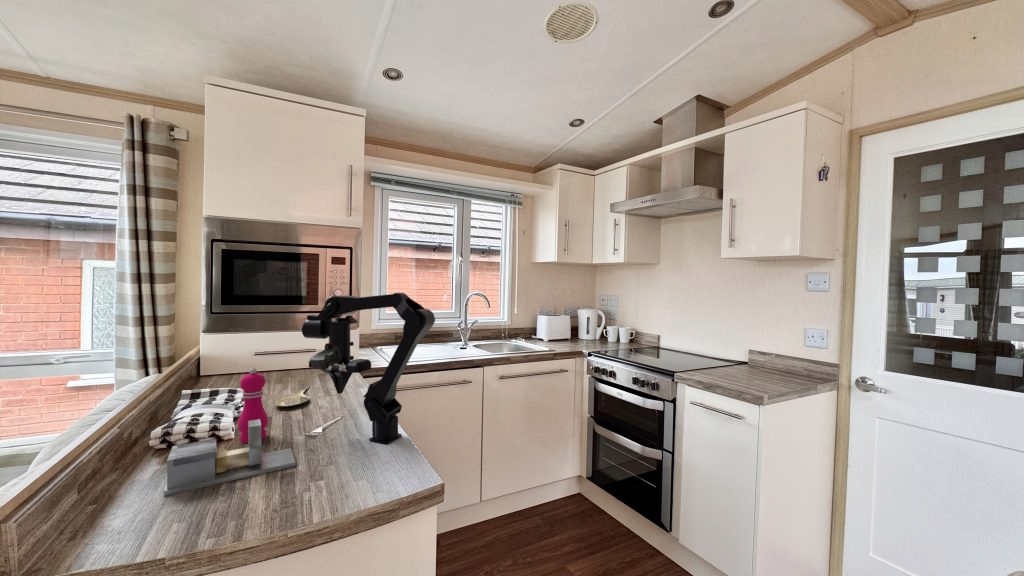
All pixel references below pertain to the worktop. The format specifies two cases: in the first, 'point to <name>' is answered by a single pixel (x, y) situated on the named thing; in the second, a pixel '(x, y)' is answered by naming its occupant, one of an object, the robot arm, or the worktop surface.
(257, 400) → the pepper mill
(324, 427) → the fork
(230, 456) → the shaft
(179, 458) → the grey long blocky piece
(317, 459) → the worktop surface
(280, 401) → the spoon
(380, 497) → the worktop surface
